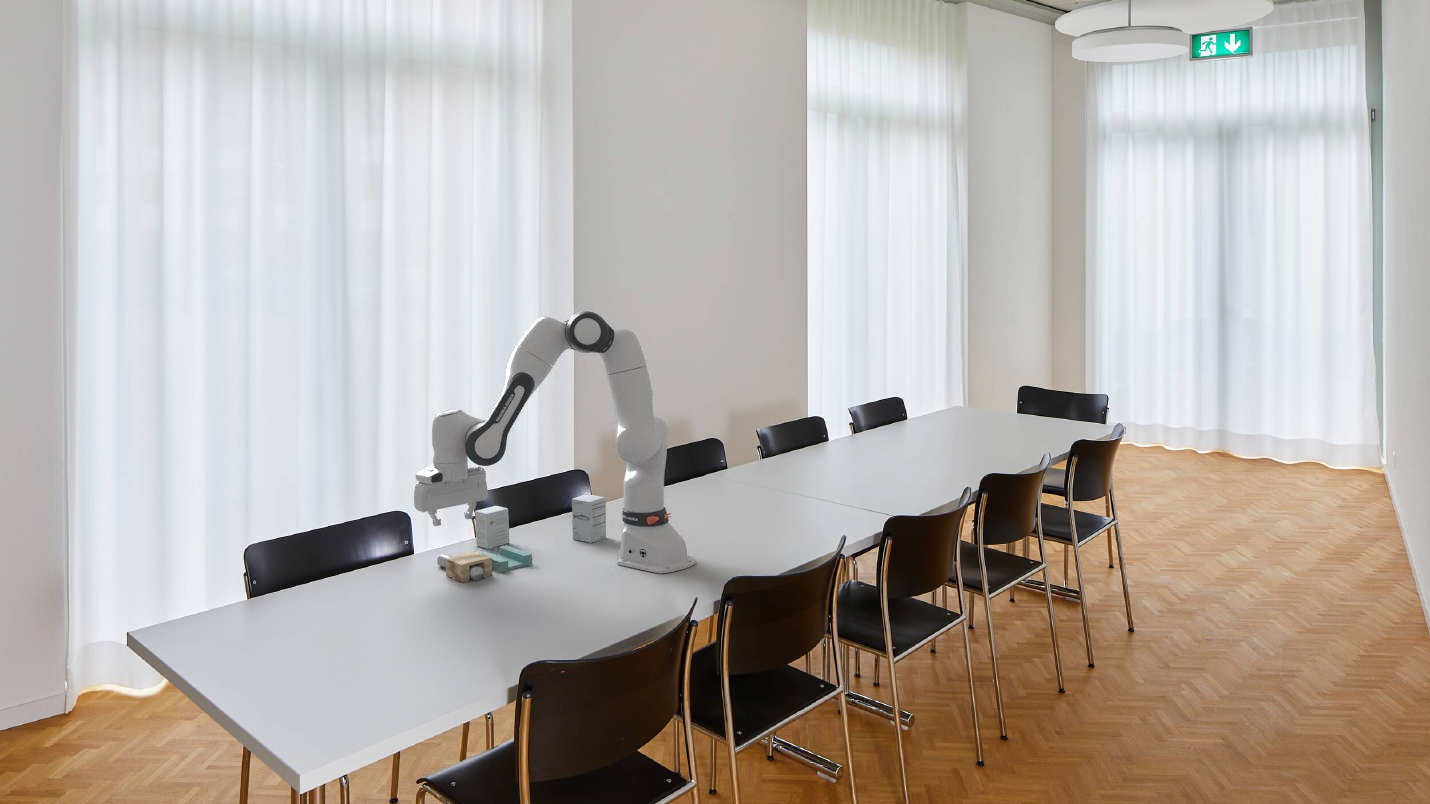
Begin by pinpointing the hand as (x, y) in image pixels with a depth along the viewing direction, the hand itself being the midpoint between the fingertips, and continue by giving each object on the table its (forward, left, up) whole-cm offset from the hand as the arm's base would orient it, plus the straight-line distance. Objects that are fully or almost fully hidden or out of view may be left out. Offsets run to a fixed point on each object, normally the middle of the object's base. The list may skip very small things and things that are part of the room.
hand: (453, 522), depth 256 cm
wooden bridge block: (-7, 0, -13) cm, 15 cm away
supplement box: (-3, -43, -13) cm, 45 cm away
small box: (+13, -20, -13) cm, 27 cm away
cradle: (-5, -12, -13) cm, 18 cm away
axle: (-4, 0, -13) cm, 14 cm away
